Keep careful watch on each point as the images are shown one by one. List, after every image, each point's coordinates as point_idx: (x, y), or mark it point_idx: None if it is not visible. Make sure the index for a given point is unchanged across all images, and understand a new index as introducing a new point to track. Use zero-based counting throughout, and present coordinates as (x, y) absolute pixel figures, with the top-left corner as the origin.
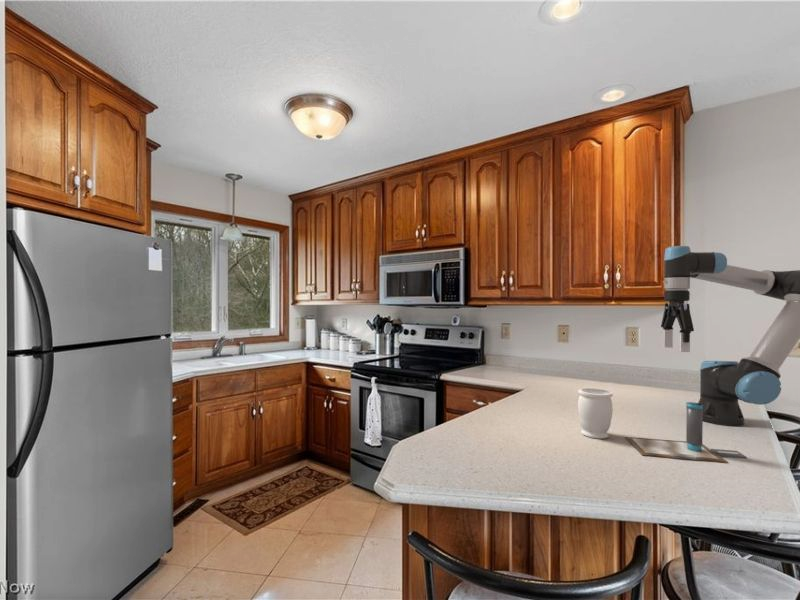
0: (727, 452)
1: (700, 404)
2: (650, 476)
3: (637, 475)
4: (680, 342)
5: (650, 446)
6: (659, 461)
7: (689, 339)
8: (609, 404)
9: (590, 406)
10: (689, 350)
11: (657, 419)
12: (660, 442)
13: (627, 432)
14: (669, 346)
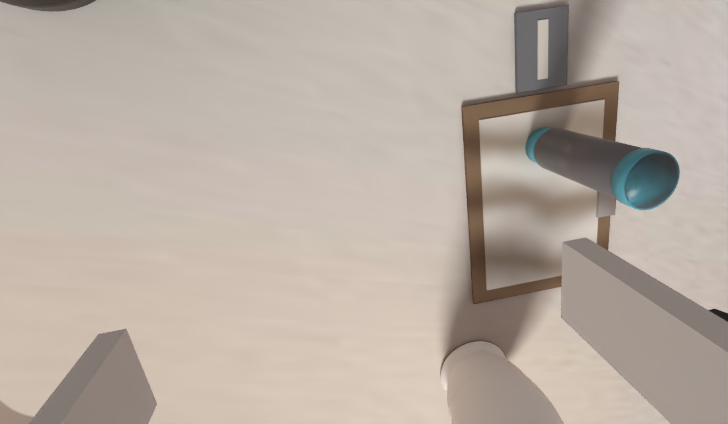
0: (544, 53)
1: (657, 160)
2: (718, 272)
3: (716, 294)
4: (647, 384)
5: (545, 253)
6: (633, 244)
7: (717, 322)
8: (554, 414)
9: None
10: (597, 248)
11: (187, 184)
12: (502, 223)
13: (414, 294)
14: (132, 367)
